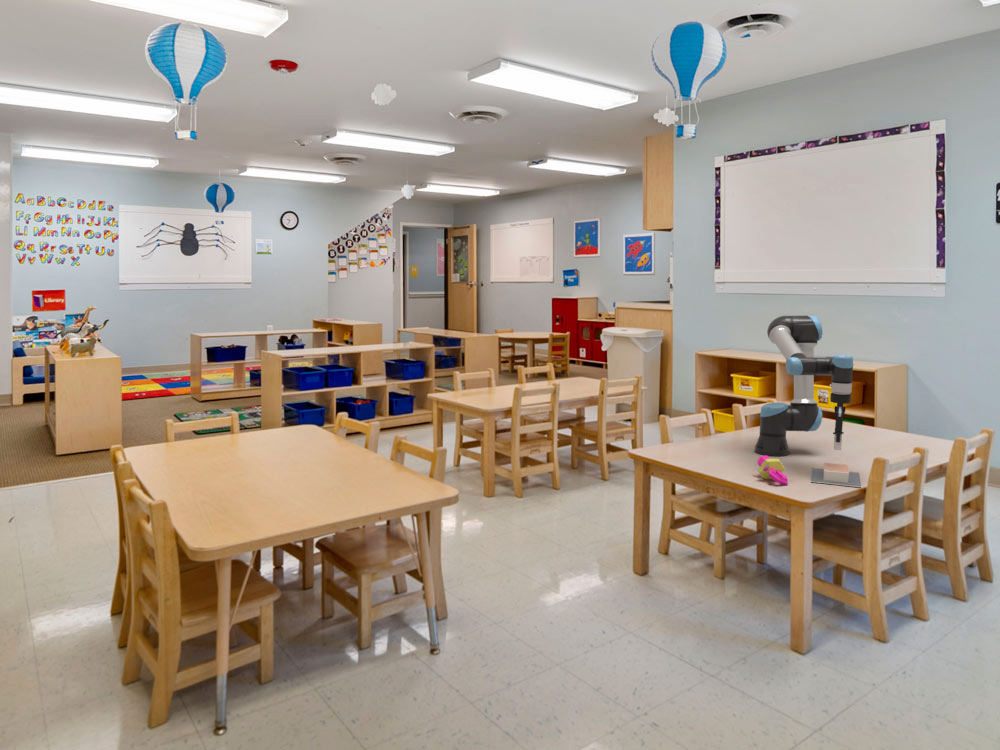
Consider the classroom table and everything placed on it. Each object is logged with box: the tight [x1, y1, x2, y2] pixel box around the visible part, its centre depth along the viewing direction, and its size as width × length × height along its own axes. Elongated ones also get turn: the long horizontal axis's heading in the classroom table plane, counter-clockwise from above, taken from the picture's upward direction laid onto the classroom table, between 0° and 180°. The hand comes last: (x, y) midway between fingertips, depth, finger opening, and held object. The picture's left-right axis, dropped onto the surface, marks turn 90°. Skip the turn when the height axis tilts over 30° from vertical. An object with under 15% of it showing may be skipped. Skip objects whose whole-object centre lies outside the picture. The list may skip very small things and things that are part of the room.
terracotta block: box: [823, 462, 850, 483], centre depth 285 cm, size 4×9×14 cm
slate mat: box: [810, 467, 862, 489], centre depth 286 cm, size 22×18×1 cm
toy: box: [756, 455, 789, 485], centre depth 284 cm, size 10×18×10 cm
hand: (837, 449), depth 287 cm, fingers closed
